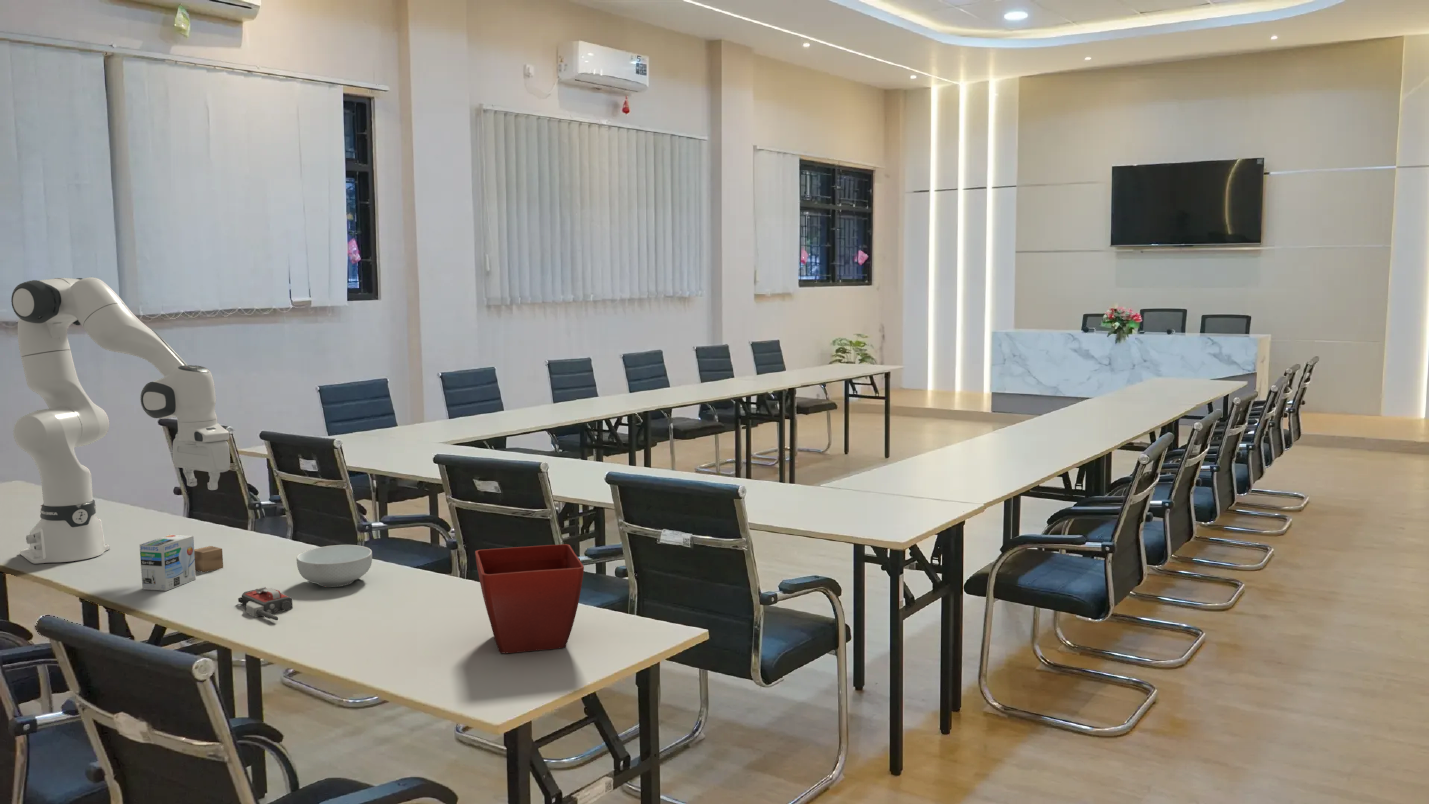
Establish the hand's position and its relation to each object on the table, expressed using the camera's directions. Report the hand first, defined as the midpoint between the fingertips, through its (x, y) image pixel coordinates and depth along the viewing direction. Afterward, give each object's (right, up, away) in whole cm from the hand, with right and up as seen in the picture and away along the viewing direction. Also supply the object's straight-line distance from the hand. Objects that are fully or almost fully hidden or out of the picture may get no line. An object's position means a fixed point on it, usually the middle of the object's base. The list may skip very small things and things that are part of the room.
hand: (202, 487), depth 266 cm
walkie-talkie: (+30, -25, -32) cm, 50 cm away
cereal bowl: (+36, -22, -10) cm, 44 cm away
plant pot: (+89, -26, -53) cm, 107 cm away
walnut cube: (0, -20, +3) cm, 21 cm away
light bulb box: (-2, -22, -11) cm, 25 cm away
